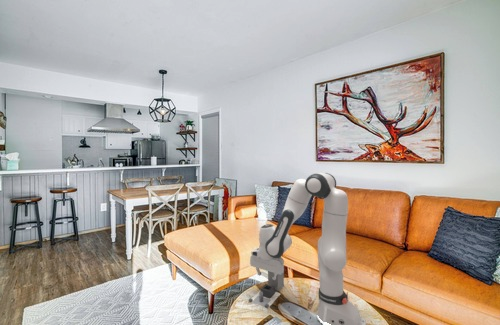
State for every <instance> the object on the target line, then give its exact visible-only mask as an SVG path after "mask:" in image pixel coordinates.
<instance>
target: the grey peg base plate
mask: <svg viewBox="0 0 500 325" xmlns="http://www.w3.org/2000/svg"><path fill="white" fill-rule="evenodd" d="M281 294H282V293H281V292H280V293H279V292H278V291H275V294H274V295H273V296H272V297H271V298H270V299H269V298H266V297H263V292H262V291H261V289H260V290H258V292H256V294H254V295H253V296H252V298H251V297H250V298H249V299H248V301H247V302H248V303H250V304H252V305H256V306H257V307H261V308H264V309H266V310H267V309H269V308H270V307H271V306H272V305H273V303H275V301H276V300H277V298H279V297H280V295H281Z"/></svg>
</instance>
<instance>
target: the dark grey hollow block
mask: <svg viewBox="0 0 500 325" xmlns="http://www.w3.org/2000/svg"><path fill="white" fill-rule="evenodd" d="M260 290H261V291H262V292H263V297H266V298H269V299H270V298H271V297H272V296H273V295H274V294H275V292H276V290H275V286H271V285H268V283H265V284H264V285H263V286H262V287H261V288H260Z"/></svg>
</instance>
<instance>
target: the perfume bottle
mask: <svg viewBox="0 0 500 325" xmlns="http://www.w3.org/2000/svg"><path fill="white" fill-rule="evenodd" d="M284 273H285V271H284V272H283V273H282V274H281V275H280V274H277V276H276V280H272V277H273V276H275V275H274V273H273V272H270V271H267V282H268V283H267V284H268V285H271V286H275V292H279V291H280V290H281V289H283V288H284V287H285V283H284V282H285V279H284V278H285V274H284Z"/></svg>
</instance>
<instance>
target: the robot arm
mask: <svg viewBox="0 0 500 325" xmlns="http://www.w3.org/2000/svg"><path fill="white" fill-rule="evenodd" d="M336 187H337V180H336V178H335V176H334V175H332V174H331V173H328V172H317V173H312V174H311V175H308V177H307V178H306V179H305V178H298V179H296V180H295V181H294V183H293V184H292V186H291V188H290V191H289V193H288V195H287V198H286V201H285V203H284V207H283V209H282V211H281V212H282V213H281V216H280V218H279V221H278V222H277V225H276V226H275V225H274V224H264V225H261V227H260V228H259V232H258V233H259V235H258V241H259V246H258V247H256V248H254V249H252V251H251V252H250V254H251V255H250V259H249V261H250V262H249V264H250V267H253V268H255V270H256V273H257V276H261V275H262V271H266V272H268V271H270V272H273V273H274V275H275V276H273V277H272V280H276V276H277V274H280V275H281V274H282V273H283V272H284V273H285V266H284V265H285V264H284V262H285V260H284V259H283V257H282V256H283V255H284V253H285V252H286V251H287V250H289V248H290V247H291V246H292V244H293V241H292V237H291V235H290V234H289V231H290V229H291V227H292V226H293V224H294V223H295V222H296V221H297V220H298V219H299V218H301V216H302V215H303V214H304V213H305V211H306V209H307V207H308V205H309V202H310V200H311V198H312V196H314V197H316V198H318V199H319V200H323V210H322V221H321V236H320V237H319V238H318V241H317V260H318V273H319V279H318V280H319V281H318V282H319V288H318V291H317V292H318V307H317V311H316V315H318V316H319V318H320V319H321V320H322V321H323V322H327V323H329V324H331V325H367V323H366V320H365V318H364V317H363V316H361V313H360V310H359V308H358V307H357V306H356V305H354V304H353V303H352V302H351V301H350V300H349V293H348V291H347V292H345V291H344V273H343V270H344V269H345V268H346V265H347V259H348V258H347V222H348V215H349V214H348V213H349V198H348V194H347V192H345V191H344V190H343V189H339V188H336ZM261 270H262V271H261Z"/></svg>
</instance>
